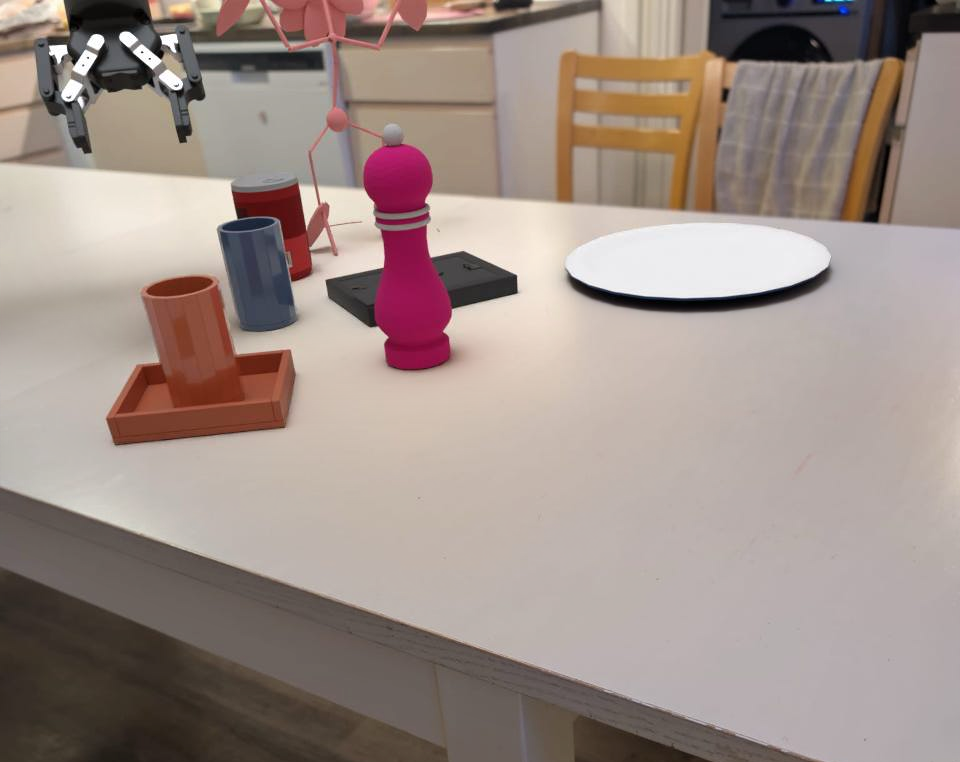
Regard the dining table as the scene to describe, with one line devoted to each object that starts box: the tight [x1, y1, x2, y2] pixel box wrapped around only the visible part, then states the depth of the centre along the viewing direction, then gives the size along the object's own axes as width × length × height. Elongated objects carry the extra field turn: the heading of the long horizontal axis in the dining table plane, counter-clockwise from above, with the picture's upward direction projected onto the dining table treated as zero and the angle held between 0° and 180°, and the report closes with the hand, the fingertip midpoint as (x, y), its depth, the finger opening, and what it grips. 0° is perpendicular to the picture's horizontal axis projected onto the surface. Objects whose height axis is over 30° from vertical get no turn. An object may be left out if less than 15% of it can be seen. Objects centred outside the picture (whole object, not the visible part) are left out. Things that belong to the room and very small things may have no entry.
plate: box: [564, 222, 833, 302], centre depth 105 cm, size 29×29×2 cm
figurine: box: [215, 0, 440, 256], centre depth 119 cm, size 15×26×35 cm, turn 119°
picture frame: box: [325, 250, 519, 328], centre depth 105 cm, size 13×2×18 cm
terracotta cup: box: [139, 274, 245, 408], centre depth 81 cm, size 6×6×10 cm
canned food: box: [230, 171, 313, 282], centre depth 113 cm, size 8×8×11 cm
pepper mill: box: [362, 123, 453, 370], centre depth 84 cm, size 7×7×20 cm
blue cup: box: [216, 217, 298, 332], centre depth 99 cm, size 6×6×10 cm
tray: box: [105, 349, 296, 445], centre depth 83 cm, size 14×12×2 cm
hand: (134, 142), depth 85 cm, fingers open, 8 cm apart
